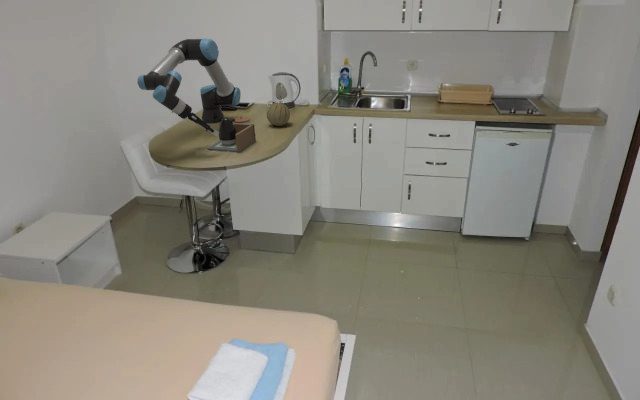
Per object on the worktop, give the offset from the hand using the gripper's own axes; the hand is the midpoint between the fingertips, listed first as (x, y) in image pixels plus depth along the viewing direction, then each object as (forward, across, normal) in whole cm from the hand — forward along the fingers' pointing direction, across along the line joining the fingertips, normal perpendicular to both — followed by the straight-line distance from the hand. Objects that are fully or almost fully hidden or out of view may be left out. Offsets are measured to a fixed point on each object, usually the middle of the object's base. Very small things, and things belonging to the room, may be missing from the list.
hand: (213, 132), depth 244 cm
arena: (+14, 0, 0) cm, 14 cm away
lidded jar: (+26, -23, +12) cm, 36 cm away
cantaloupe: (+42, -19, +28) cm, 54 cm away
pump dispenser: (+12, 0, 0) cm, 12 cm away
